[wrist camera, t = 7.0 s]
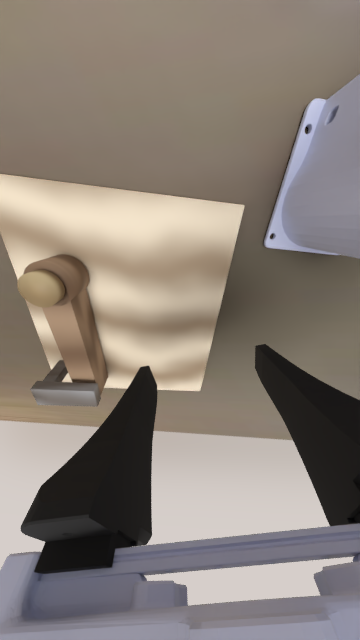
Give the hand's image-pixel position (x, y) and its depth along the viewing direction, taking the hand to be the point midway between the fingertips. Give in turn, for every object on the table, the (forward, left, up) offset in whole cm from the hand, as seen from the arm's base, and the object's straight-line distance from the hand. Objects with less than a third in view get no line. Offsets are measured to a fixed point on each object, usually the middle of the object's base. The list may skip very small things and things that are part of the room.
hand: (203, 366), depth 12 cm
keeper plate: (+2, -7, -9) cm, 12 cm away
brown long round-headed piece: (+3, -12, -8) cm, 14 cm away
